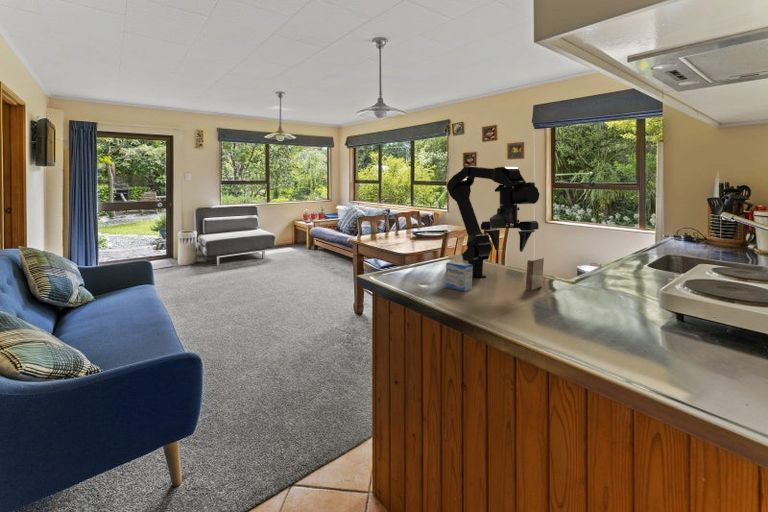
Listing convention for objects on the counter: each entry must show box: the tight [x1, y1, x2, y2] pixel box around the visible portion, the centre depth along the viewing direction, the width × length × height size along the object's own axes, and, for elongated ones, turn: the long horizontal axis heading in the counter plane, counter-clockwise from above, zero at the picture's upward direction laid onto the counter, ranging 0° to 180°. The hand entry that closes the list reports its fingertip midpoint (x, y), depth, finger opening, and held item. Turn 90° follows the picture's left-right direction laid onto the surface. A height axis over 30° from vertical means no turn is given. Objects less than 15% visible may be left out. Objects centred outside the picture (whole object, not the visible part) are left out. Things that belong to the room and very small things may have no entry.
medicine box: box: [444, 261, 473, 292], centre depth 137 cm, size 8×4×9 cm, turn 47°
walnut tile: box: [525, 256, 545, 291], centre depth 136 cm, size 2×7×10 cm, turn 132°
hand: (508, 250), depth 139 cm, fingers open, 9 cm apart
